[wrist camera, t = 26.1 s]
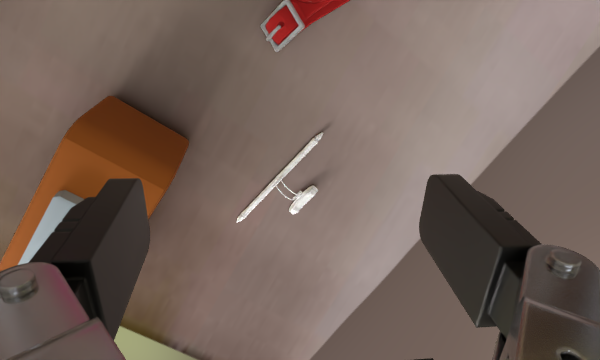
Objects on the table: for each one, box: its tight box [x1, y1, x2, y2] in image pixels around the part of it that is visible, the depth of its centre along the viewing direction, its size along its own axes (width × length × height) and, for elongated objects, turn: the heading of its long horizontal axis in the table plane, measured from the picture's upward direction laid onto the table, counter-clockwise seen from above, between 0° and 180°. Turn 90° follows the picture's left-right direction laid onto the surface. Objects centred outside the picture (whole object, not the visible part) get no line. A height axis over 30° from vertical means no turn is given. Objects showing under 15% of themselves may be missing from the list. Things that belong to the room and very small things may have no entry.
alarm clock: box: [0, 96, 189, 271], centre depth 38 cm, size 24×8×11 cm, turn 145°
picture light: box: [236, 132, 323, 222], centre depth 44 cm, size 14×4×2 cm, turn 137°
